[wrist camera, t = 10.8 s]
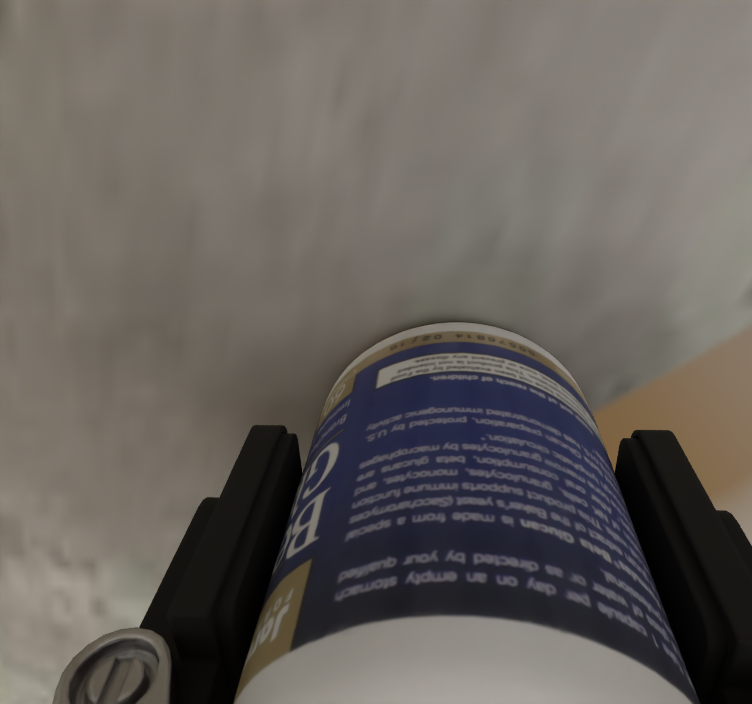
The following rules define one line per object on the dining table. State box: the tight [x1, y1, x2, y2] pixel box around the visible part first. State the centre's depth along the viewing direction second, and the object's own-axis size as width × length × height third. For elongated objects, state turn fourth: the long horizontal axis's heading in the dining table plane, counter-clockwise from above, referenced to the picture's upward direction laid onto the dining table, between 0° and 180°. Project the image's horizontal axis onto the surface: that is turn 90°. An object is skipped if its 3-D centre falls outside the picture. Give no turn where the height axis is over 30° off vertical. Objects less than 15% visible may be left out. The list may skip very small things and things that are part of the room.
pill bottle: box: [233, 322, 700, 704], centre depth 8 cm, size 5×5×10 cm
